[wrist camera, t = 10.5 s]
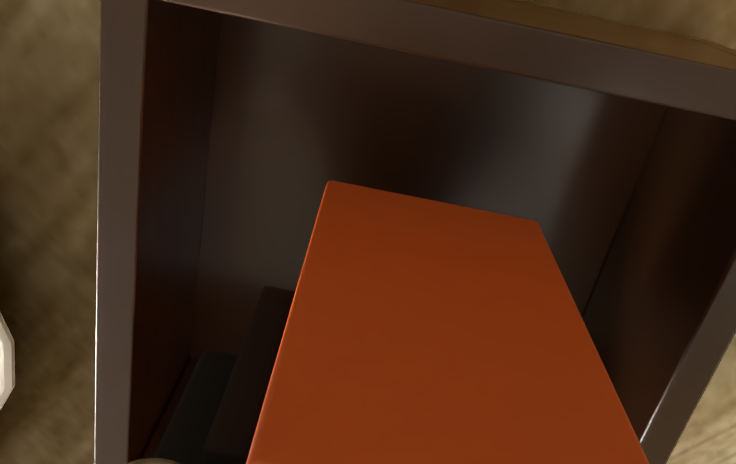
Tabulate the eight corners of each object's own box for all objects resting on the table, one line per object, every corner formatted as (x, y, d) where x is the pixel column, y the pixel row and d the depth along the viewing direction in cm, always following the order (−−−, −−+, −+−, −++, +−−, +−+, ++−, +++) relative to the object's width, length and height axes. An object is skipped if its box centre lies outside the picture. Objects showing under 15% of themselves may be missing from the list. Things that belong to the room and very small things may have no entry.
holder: (715, 42, 16) (863, 96, 11) (552, 432, 21) (599, 592, 16) (200, -68, 15) (99, -66, 10) (169, 360, 21) (92, 501, 16)
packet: (538, 219, 12) (692, 544, 6) (458, 456, 15) (501, 860, 8) (327, 177, 12) (244, 465, 6) (283, 424, 14) (192, 813, 8)
